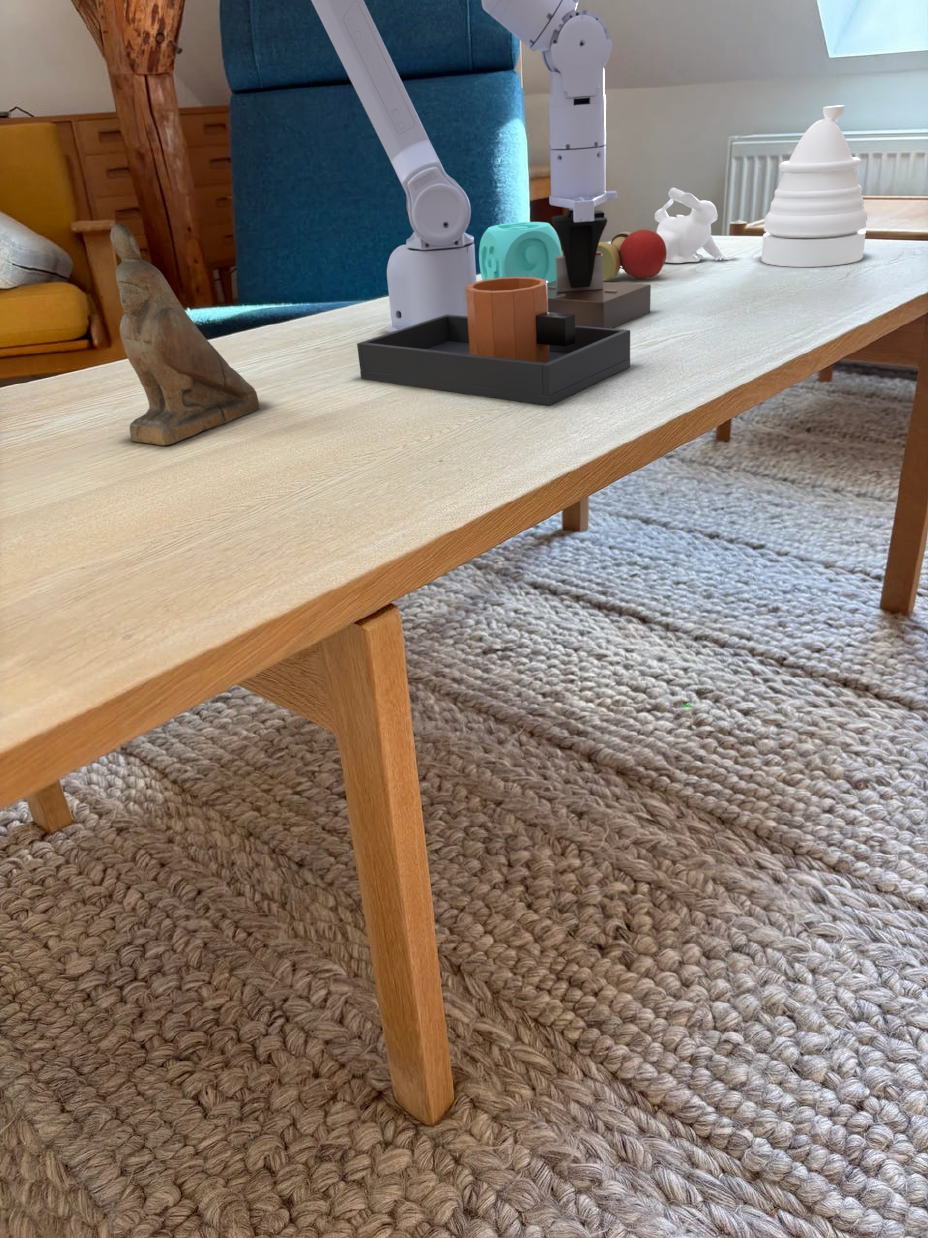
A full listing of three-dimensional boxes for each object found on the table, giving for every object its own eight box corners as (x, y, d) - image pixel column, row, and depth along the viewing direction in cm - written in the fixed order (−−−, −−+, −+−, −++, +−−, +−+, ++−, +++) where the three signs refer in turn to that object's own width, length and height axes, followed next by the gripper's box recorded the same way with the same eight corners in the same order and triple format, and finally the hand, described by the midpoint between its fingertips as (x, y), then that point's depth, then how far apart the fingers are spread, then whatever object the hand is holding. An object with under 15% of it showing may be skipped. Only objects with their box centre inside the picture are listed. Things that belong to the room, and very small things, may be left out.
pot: (456, 369, 88) (450, 289, 85) (501, 351, 93) (498, 275, 90) (548, 381, 83) (546, 295, 79) (592, 361, 87) (591, 280, 84)
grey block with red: (557, 292, 107) (556, 256, 105) (556, 289, 108) (555, 254, 106) (603, 288, 106) (603, 252, 105) (602, 286, 108) (602, 250, 106)
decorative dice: (537, 285, 128) (534, 219, 124) (563, 293, 122) (562, 225, 118) (480, 293, 126) (476, 226, 122) (504, 302, 119) (500, 232, 116)
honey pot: (797, 248, 139) (809, 105, 130) (882, 254, 130) (900, 101, 121) (741, 262, 132) (750, 112, 124) (827, 269, 123) (842, 108, 115)
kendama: (531, 289, 133) (646, 276, 121) (529, 239, 131) (646, 221, 120) (564, 289, 138) (678, 276, 127) (562, 241, 137) (677, 224, 125)
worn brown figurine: (176, 475, 79) (82, 252, 68) (132, 465, 82) (35, 249, 70) (273, 405, 86) (202, 192, 74) (229, 398, 88) (155, 192, 77)
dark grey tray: (360, 378, 92) (356, 343, 90) (448, 346, 101) (446, 314, 99) (549, 405, 80) (548, 364, 78) (630, 366, 89) (630, 329, 87)
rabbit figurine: (734, 258, 135) (738, 182, 130) (707, 268, 130) (711, 189, 125) (657, 255, 142) (659, 183, 138) (630, 264, 137) (630, 189, 133)
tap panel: (510, 323, 109) (508, 294, 107) (559, 305, 115) (558, 277, 114) (603, 331, 102) (603, 300, 100) (650, 312, 108) (651, 282, 107)
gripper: (625, 148, 94) (624, 294, 100) (609, 141, 107) (609, 271, 113) (551, 153, 94) (555, 299, 101) (544, 146, 107) (548, 275, 113)
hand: (579, 285), depth 107 cm, fingers closed on grey block with red
